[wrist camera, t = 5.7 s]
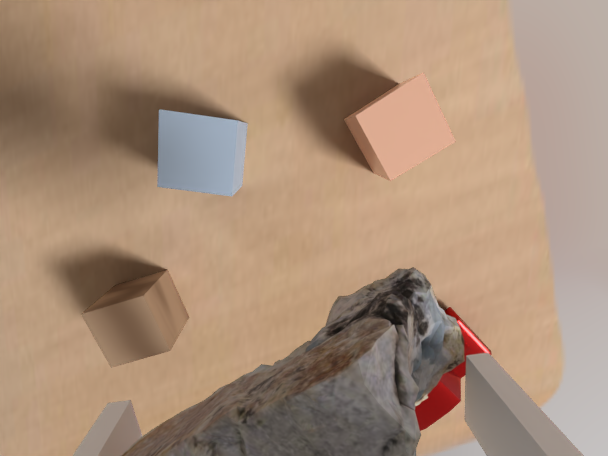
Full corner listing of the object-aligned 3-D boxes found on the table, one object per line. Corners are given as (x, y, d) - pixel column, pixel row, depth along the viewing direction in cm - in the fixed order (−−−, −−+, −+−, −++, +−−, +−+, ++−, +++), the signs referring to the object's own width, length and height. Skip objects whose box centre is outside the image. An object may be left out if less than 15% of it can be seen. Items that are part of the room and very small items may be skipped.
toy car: (370, 417, 35) (382, 462, 30) (335, 387, 34) (342, 428, 29) (477, 336, 33) (509, 371, 28) (444, 300, 31) (471, 330, 27)
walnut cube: (139, 331, 31) (111, 367, 26) (115, 284, 29) (81, 314, 25) (189, 316, 31) (170, 350, 26) (168, 269, 29) (143, 295, 24)
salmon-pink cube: (373, 172, 27) (390, 180, 23) (343, 119, 26) (355, 115, 21) (426, 140, 27) (455, 141, 22) (399, 84, 26) (423, 72, 21)
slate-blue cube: (181, 177, 27) (157, 186, 22) (183, 114, 26) (158, 109, 21) (242, 185, 27) (231, 196, 23) (247, 123, 26) (237, 120, 21)
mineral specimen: (336, 334, 18) (248, 185, 13) (507, 381, 13) (482, 168, 8) (227, 548, 13) (-9, 443, 7) (454, 776, 8) (227, 990, 2)
